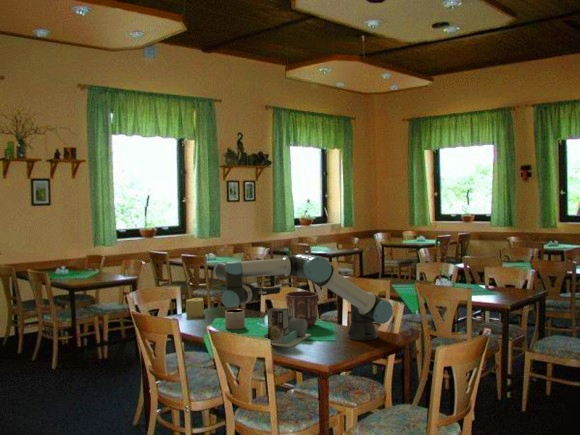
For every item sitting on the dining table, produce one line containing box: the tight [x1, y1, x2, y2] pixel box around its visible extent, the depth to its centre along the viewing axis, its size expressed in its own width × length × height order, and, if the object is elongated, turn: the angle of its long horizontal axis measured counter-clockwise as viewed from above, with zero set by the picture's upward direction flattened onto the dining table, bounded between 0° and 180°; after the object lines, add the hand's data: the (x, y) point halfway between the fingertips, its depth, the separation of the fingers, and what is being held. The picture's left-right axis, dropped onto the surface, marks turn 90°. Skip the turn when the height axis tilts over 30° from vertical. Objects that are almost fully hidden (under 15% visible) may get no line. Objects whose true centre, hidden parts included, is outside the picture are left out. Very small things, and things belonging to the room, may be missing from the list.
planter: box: [224, 308, 246, 331], centre depth 341 cm, size 11×11×10 cm
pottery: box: [285, 290, 319, 329], centre depth 343 cm, size 18×18×18 cm
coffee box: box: [266, 307, 289, 343], centre depth 306 cm, size 9×6×16 cm
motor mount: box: [263, 314, 312, 348], centre depth 313 cm, size 19×24×12 cm
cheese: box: [185, 297, 205, 318], centre depth 375 cm, size 10×11×10 cm
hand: (268, 286), depth 297 cm, fingers open, 13 cm apart
